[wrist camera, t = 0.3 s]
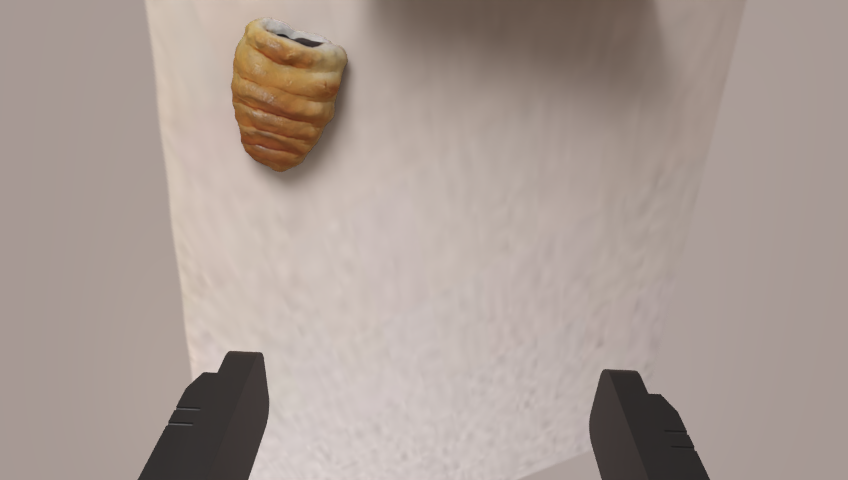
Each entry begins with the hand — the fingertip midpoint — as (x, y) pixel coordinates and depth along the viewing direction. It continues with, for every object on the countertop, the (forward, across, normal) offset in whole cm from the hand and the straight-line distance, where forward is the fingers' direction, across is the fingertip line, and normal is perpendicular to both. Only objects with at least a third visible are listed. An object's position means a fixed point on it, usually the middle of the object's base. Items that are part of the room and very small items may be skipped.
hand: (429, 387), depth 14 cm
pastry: (+28, +9, +1) cm, 29 cm away
